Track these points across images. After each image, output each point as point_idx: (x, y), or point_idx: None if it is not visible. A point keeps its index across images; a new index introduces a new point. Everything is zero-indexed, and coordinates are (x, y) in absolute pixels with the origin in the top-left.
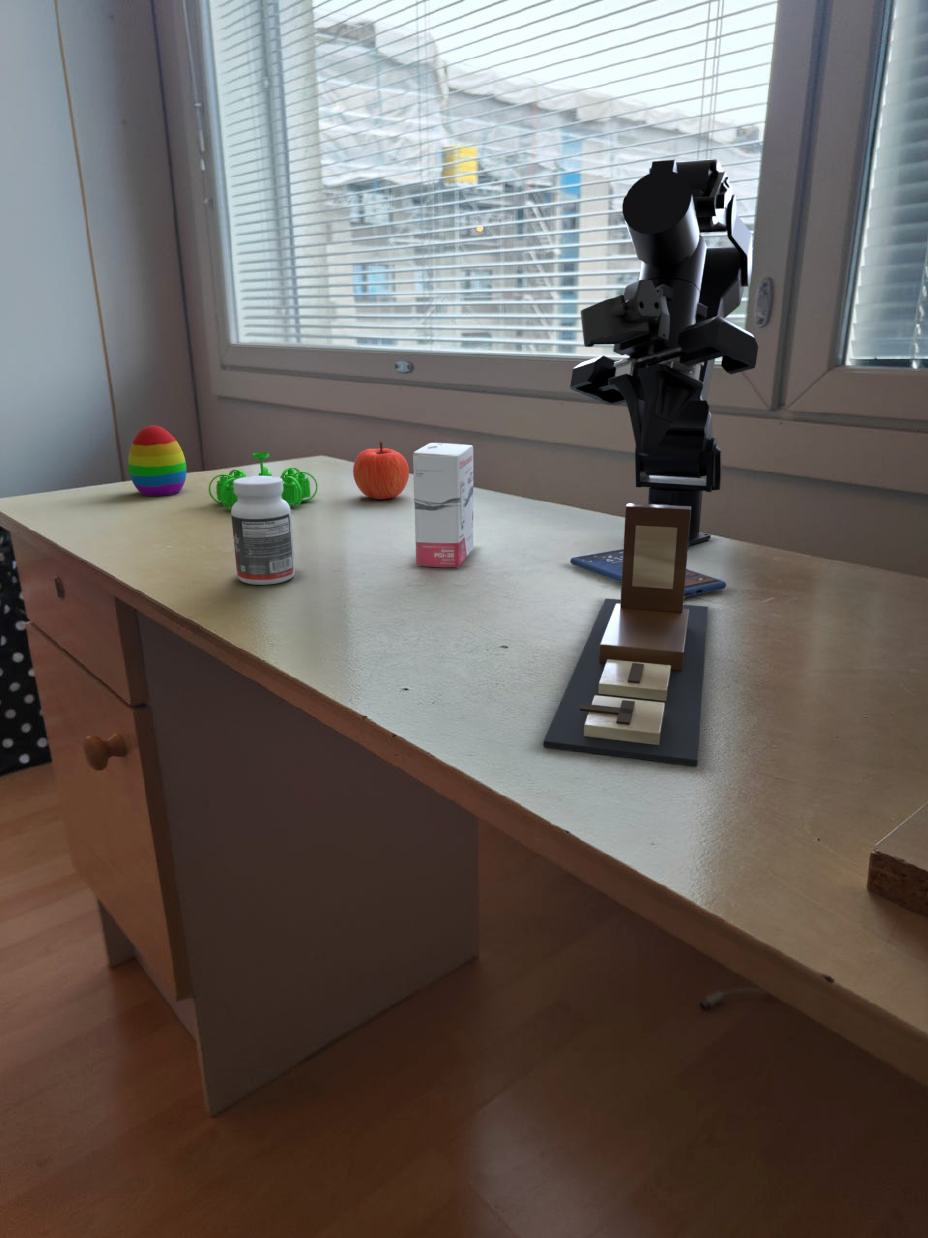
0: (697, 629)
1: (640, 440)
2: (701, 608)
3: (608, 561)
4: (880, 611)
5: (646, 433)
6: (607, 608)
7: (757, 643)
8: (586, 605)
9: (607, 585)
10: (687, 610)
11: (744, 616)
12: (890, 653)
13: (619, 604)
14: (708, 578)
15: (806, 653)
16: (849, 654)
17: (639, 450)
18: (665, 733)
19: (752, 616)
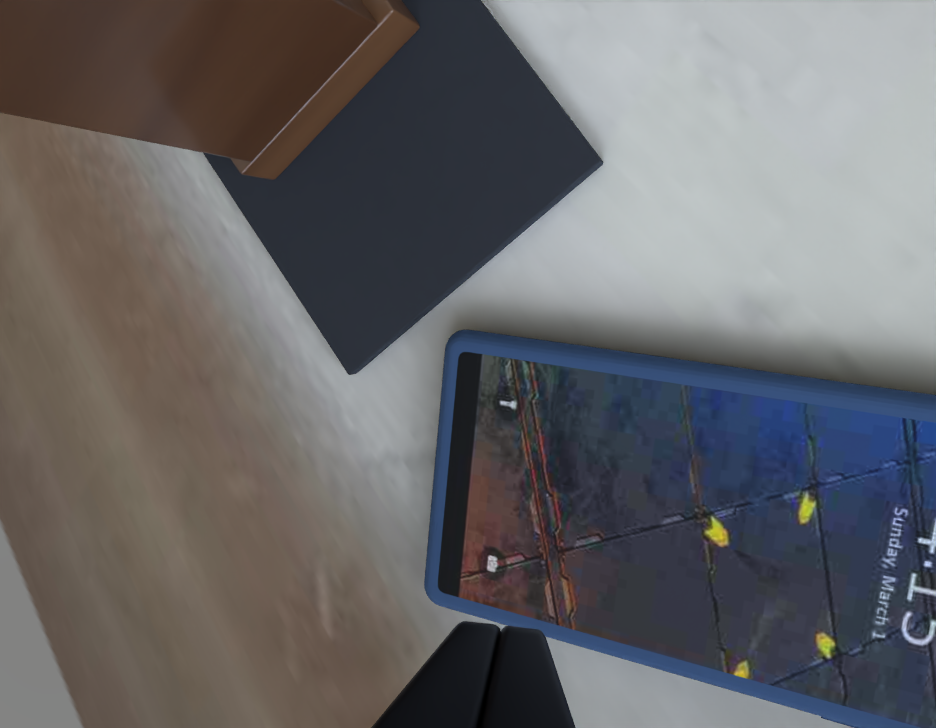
0: (247, 183)
1: (484, 696)
2: (346, 342)
3: (933, 518)
4: (133, 701)
5: (376, 724)
6: (514, 86)
7: (151, 260)
8: (627, 82)
9: (761, 333)
10: (235, 160)
11: (276, 414)
12: (3, 435)
13: (378, 13)
14: (480, 589)
15: (72, 296)
16: (33, 364)
17: (508, 631)
18: None
19: (265, 431)
